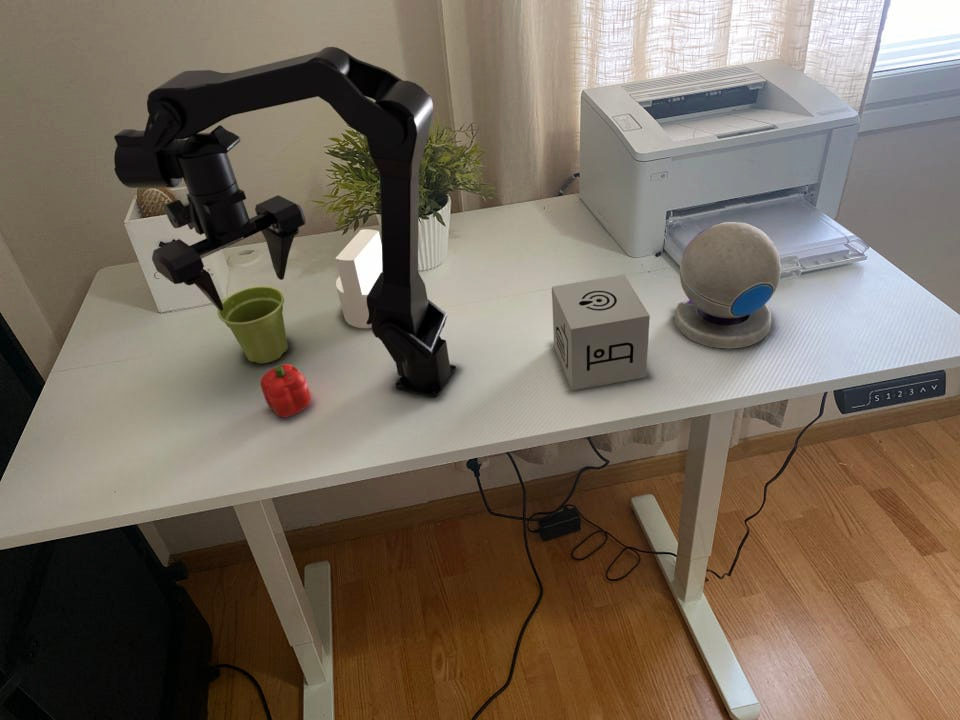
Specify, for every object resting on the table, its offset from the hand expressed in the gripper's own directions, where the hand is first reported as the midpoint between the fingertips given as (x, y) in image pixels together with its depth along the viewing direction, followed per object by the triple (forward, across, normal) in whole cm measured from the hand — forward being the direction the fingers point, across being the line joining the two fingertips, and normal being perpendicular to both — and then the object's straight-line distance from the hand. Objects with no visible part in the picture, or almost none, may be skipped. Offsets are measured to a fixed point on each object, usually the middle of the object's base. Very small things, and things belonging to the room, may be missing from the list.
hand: (251, 293), depth 98 cm
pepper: (+13, +3, +8) cm, 16 cm away
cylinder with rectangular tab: (+13, -18, -1) cm, 22 cm away
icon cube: (+14, -31, +34) cm, 48 cm away
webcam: (+14, -49, +42) cm, 66 cm away
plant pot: (+13, -1, -5) cm, 14 cm away
